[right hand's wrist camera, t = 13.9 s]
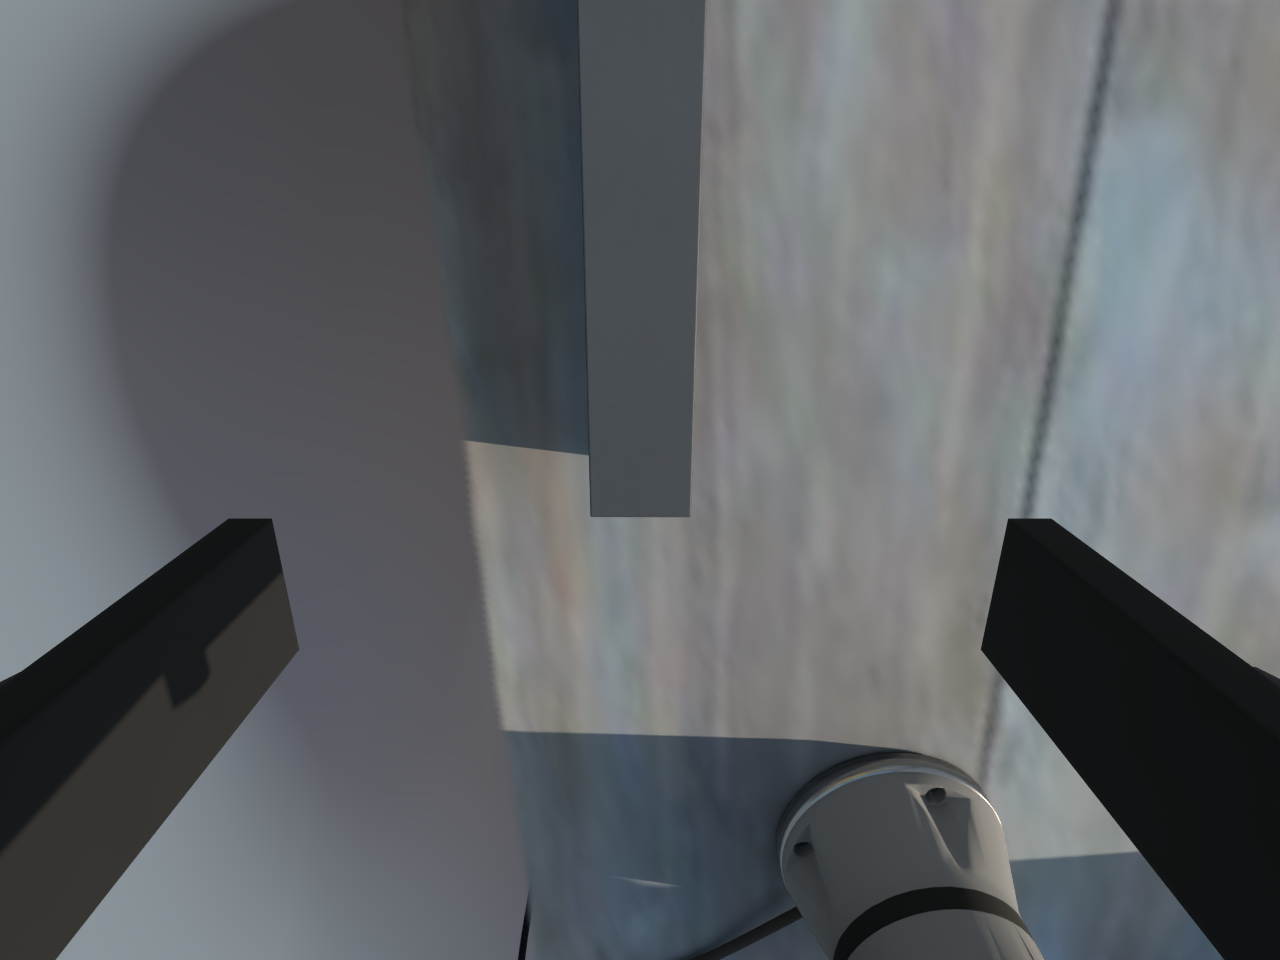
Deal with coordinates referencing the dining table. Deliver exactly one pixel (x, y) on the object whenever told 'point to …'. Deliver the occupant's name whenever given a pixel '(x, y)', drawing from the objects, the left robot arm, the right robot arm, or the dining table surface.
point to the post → (641, 247)
